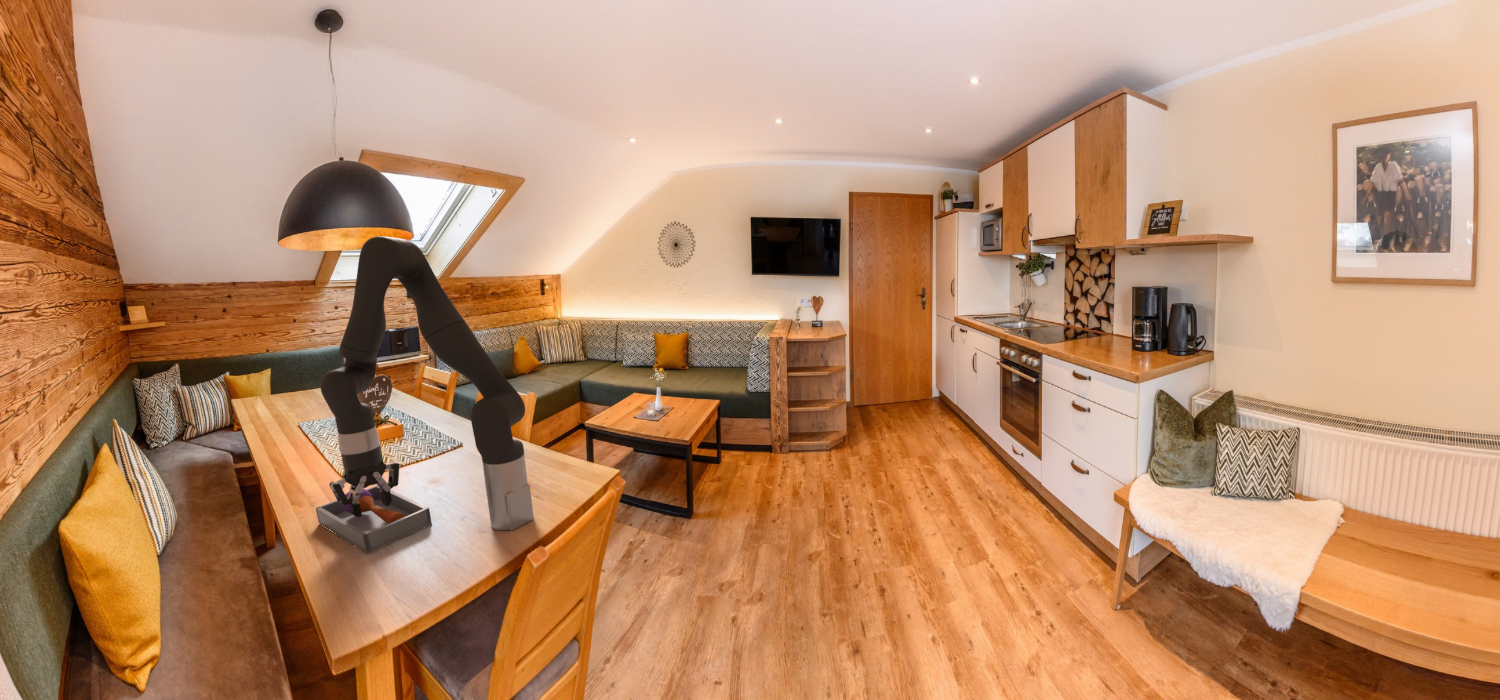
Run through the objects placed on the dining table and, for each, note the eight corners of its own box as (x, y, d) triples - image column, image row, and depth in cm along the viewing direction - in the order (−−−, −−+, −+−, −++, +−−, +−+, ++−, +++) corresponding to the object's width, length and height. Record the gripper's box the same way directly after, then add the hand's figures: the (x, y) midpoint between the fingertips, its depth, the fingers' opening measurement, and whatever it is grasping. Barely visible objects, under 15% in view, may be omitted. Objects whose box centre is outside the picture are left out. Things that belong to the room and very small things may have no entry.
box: (431, 524, 118) (429, 508, 117) (367, 554, 106) (363, 536, 105) (381, 499, 130) (378, 484, 129) (319, 524, 119) (315, 508, 118)
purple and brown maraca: (379, 519, 110) (332, 496, 118) (388, 538, 112) (342, 514, 120) (405, 502, 115) (358, 481, 123) (413, 520, 117) (367, 499, 125)
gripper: (330, 461, 106) (344, 529, 110) (401, 439, 118) (412, 501, 122) (316, 454, 110) (330, 520, 113) (386, 434, 122) (397, 494, 125)
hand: (372, 510), depth 117 cm, fingers open, 5 cm apart
